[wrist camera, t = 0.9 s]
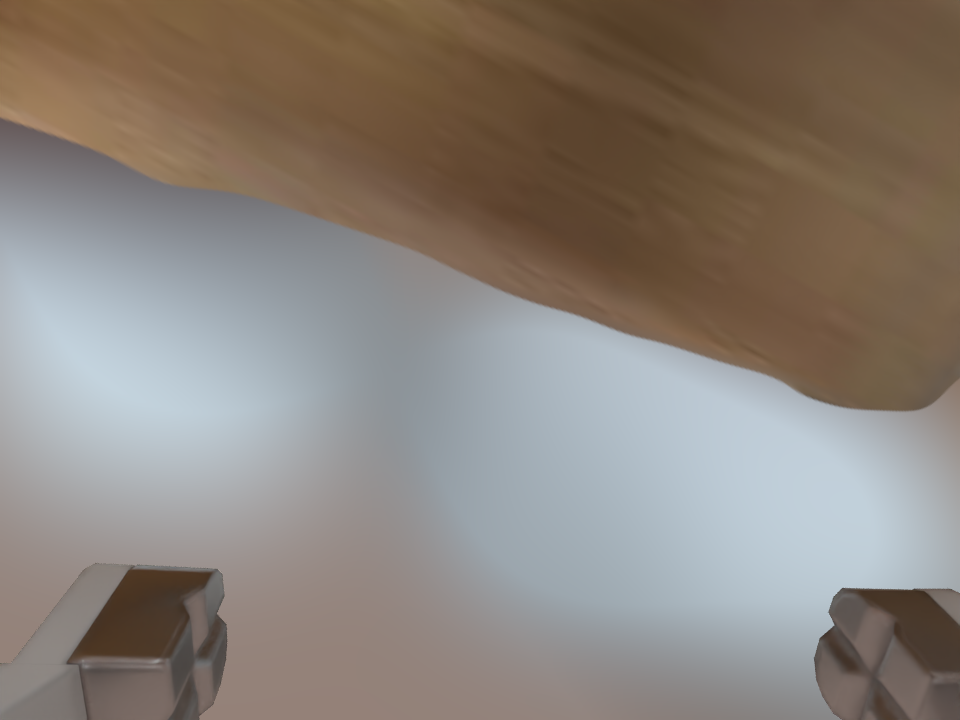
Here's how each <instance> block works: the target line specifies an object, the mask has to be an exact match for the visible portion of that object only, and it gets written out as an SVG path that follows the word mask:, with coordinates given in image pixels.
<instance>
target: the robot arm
mask: <svg viewBox="0 0 960 720" xmlns="http://www.w3.org/2000/svg"><path fill="white" fill-rule="evenodd" d="M223 598H224V586H223V576H222V573H221V572H220V571H219V570H218V569H208V568H190V567H170V566H151V565H136V566H134V565H123V564H99V563H95V564H93V565H91V566H89V567H87V568H86V569H84V570H83V571H82V573H81V574H80V575H79V577H78V578H77V579H76V580H75V582H74V583H73V584H72V585H71V587H70V588H69V589H68V591H67V592H66V593H65V595H64V596H63V597H62V598H61V600H60V601H59V602H58V604H57V605H56V606H55V607H54V609H53V610H52V611H51V612H50V614H49V615H48V617H47V618H46V619H45V620H44V622H43V623H42V624H41V625H40V627H39V628H38V630H37V631H36V632H35V633H34V634H33V636H32V637H31V639H30V640H29V641H28V642H27V643H26V645H25V646H24V647H23V649H22V650H21V651H20V652H19V654H18V655H17V656H16V658H15V659H14V660H13V661H12V663H0V720H199V716H200V715H201V714H202V713H204V712H205V711H206V710H207V709H208V708H210V707H211V706H212V705H213V704H214V701H215V698H216V696H217V693H218V690H219V687H220V684H221V680H222V675H223V671H224V666H225V661H226V650H227V627H226V624H225V622H224V621H223V620H222V619H221V618H220V617H219V616H218V615H217V612H218V610H219V607H220V605H221V603H222V600H223ZM829 614H830V616H831V618H832V620H833V622H834V625H835V626H833V627H832V628H831V629H830V630H829V631H828V632H827V633H825V634H824V635H823V636H822V637H821V638H820V639H819V643H818V646H817V650H816V654H815V657H814V661H815V671H816V680H817V683H818V686H819V688H820V691H821V693H822V696H823V698H824V699H825V701H826V703H827V704H828V706H829V707H830V709H831V711H832V712H833V714H835V715H836V716H838V717H839V718H840V719H842V720H960V593H958V592H956V591H954V590H952V589H913V590H901V589H860V588H859V589H858V588H856V589H855V588H842V589H841V590H840V591H839V592H838V593H837V594H836V595H835V596H834V598H833V601H832V603H831V606H830V609H829Z"/></svg>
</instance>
